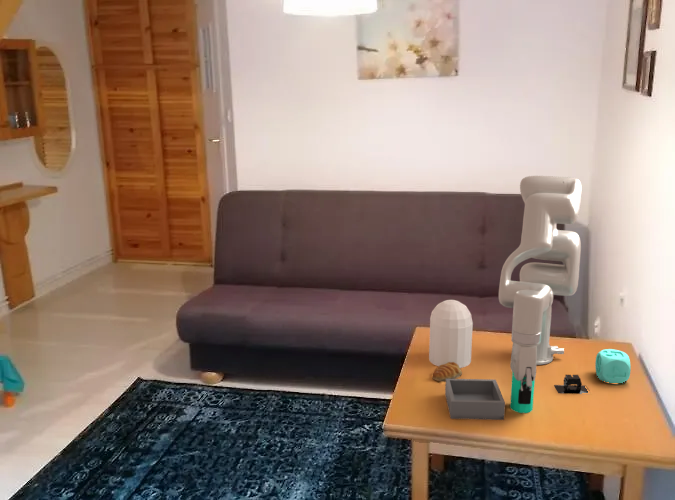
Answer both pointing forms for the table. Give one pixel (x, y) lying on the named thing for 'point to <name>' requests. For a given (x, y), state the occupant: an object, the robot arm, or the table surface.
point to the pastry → (447, 371)
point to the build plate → (569, 388)
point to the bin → (474, 399)
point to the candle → (515, 393)
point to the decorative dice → (612, 366)
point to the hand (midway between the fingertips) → (521, 398)
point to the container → (450, 334)
